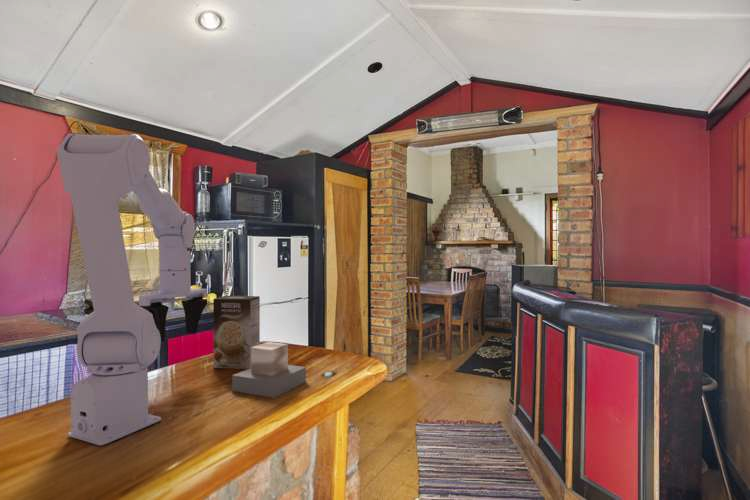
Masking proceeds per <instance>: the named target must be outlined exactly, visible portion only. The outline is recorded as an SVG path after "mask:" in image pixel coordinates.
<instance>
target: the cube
mask: <svg viewBox="0 0 750 500" xmlns="http://www.w3.org/2000/svg"><path fill="white" fill-rule="evenodd" d="M288 345H289V344H288V343H281V342H280V343H279V342H271V341H270V342H269V341H266V342H264V343H260V345H257V346H254V347H251V373H254V374H261V375H268V376H273V375H276V374H278V373H280V372H282V371H285V370H287V369H288V365H289V349H288V348H289V346H288Z"/></svg>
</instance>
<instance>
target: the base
mask: <svg viewBox="0 0 750 500" xmlns="http://www.w3.org/2000/svg"><path fill="white" fill-rule="evenodd" d="M306 369H307V368H306V367H305V366H300V365H299V366H298V365H291V364H288V369H287V370H285V371H282V372H280V373H278V374H276V375H273V376H268V375H261V374H254V373H251V368H250V369H244V370H243V371H240V372H237V373H234V374H232V375H231V379H232V381H231V384H232V385H231V389H232V390H231V391H232V392H236V393H242V394H247V395H254V396H260V397H265V398H269V399H276V398H277V397H280V396H282V395H284V394H286V393H288V392H289V391H291V390H293V389H295V388H297V387H298V386H300V385H303V384H305V383H306V382H307V377H306V375H307V372H306V371H307V370H306Z"/></svg>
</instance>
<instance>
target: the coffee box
mask: <svg viewBox="0 0 750 500" xmlns="http://www.w3.org/2000/svg"><path fill="white" fill-rule="evenodd" d="M260 301H261V299H260V296H259V295H258V296H257V295H256V296H255V295H223V296H218V297H216V298H213V353H212V354H213V366H212V368H213V369H232V370H233V369H235V370H237V369H238V370H247V369H250V368H251V347H254V346H257V345H260V344H261V343H260V340H261V339H260V338H261V337H260V336H261V334H260V331H261V330H260V328H261V327H260V316H261V314H260V313H261V310H260V309H261V305H260Z"/></svg>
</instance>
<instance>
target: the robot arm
mask: <svg viewBox="0 0 750 500" xmlns="http://www.w3.org/2000/svg"><path fill="white" fill-rule="evenodd" d="M56 154H57V155H56V156H57V160H58V165H59V169H60V173H61V179H62V183H63V187H64V192H65V193H68V194H69V195H70V200H71V205H72V209H73V215H74V219H75V225H76V230H77V234H78V240H79V243H80V250H81V253H82V258H83V259H82V260H83V264H84V268H85V273H86V279H87V282H88V288H89V292H90V296H91V302H92V307H93V311H92V312H90V313H89V314H88V315H87V316H85V317H84V318H83V319H82V320H81V321H80V323H79V324H78V325H77V327H76V331H77V344H76V355H77V359H78V361H79V363H80V364H81V365H82V367H85V368H86V373H87V374H89V376H87V377H85V378H83V379H82V378H81V379H80V380H78V381H76V382H75V383H74V384H73V385H72V388H71V391H70V392H71V393H70V431H69V432H68V433H67V436H68V437H70V438H74V439H77V440H80V441H83V442H87V443H89V444H93V445H96V446H104V445H107V444H109V443H112V442H113V441H116V440H119V439H121V438H124V437H126V436H128V435H131V434H133V433H135V432H137V431H139V430H141V429H144V428H146V427H149V426H151V425H153V424H156V423H158V422H160V421H162V417H161V416H159V415H153V414H150V413H149V375H148V374H149V371H148V370H149V369H148V368H149V366H150V365H152V364H153V363H154V362H155V361H156V360H157V358H158V356H159V355H160V354H159V353H160V351H161V342H164V341H165V338H166V321H167V315H168V312H169V309H170V306H167V305H166V306H164V305H163V304H167V303H173V302H180V301H181V304H182V307H183V313H184V318H185V320H184V321H185V332H186V334H190V335H195V334H197V330H198V326H199V322H200V321H201V320H200V319H201V316H202V313H203V312H204V310H205V309H206V306H207V304H208V299H206V298H208V289H207V288H193V289H192V284H191V278H192V277H191V275H192V274H191V271H192V270H191V248H193V245H194V244H193V243H194V236H195V230H196V225H195V220H194V216H193V215H192V214H191V213H188V211H183V209H181V207H180V205H179V204H178V202H177V201H176V200H175V199H174V197H173V196H172V194H171V192H169V190H166V189H164V188H160V187H159V186H158V184H157V182H156V180H155V178H154V177H153V175H152V172H151V171H150V166H151V163H150V162H151V158H150V157H151V156H150V151H149V147H148V145H147V144H146V141H144V140H143V138H142V137H141V136H140V135H138V134H135V133H134V134H133V133H132V134H129V135H128V134H127V135H124V134H122V135H121V134H117V135H116V134H78V133H69V134H67V135H66V136H65V137H64V138H63V140H62V141H61V143H60V144H59V146H58V148H57V150H56ZM130 193H133V194H134V195H135V196H136V197H137V198H138V199H139V202H138V204H139V205H138V206H139V208H140V210H141V212H143V214H144V215H145V217H147V218H148V220H149V221H150V225H151V228H152V232H153V235H154V237H155V238H156V239H157V240H158V250H159V251H158V255H159V256H158V260H159V262H158V263H159V267H158V268H159V273H158V275H159V277H158V278H159V291H158V292H153V293H147V294H142V295H141V294H140V295H138V303H136V302H135V297H134V291H133V285H132V279H131V275H130V269H129V263H128V257H127V251H126V246H125V245H126V244H125V239H124V234H123V228H122V222H121V218H120V212H119V211H120V209H119V201H120V200H121V198H122V197H123V196H125V195H127V194H130Z"/></svg>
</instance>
